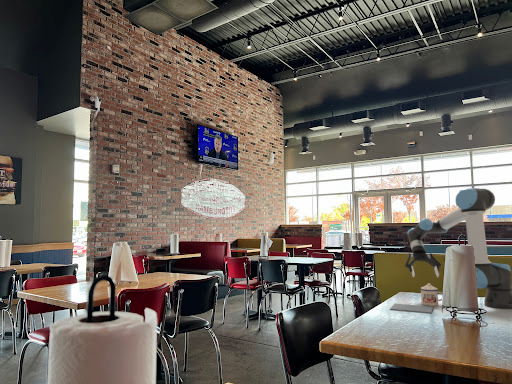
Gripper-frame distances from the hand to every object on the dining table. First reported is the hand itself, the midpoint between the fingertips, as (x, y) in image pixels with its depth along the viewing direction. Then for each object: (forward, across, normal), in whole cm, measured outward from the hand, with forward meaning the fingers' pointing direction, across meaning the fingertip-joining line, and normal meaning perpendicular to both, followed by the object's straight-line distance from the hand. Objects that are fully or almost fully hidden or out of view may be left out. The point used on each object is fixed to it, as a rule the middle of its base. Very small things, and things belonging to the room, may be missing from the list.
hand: (425, 275), depth 227 cm
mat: (+26, +14, +6) cm, 30 cm away
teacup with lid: (+18, 0, -3) cm, 18 cm away
